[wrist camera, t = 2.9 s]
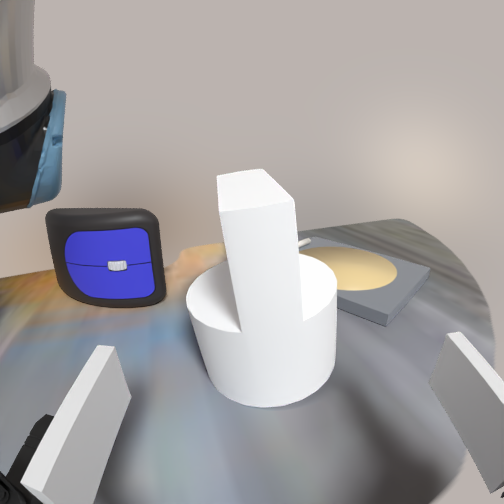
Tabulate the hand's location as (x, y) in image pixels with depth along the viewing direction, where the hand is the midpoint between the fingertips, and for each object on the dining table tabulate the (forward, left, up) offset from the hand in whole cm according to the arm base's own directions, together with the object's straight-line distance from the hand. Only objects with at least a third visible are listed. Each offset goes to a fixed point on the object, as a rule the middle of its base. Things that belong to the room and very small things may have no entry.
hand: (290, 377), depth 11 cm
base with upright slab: (-6, +6, -6) cm, 11 cm away
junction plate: (-11, +23, -6) cm, 26 cm away
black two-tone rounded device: (-26, +1, -7) cm, 27 cm away
